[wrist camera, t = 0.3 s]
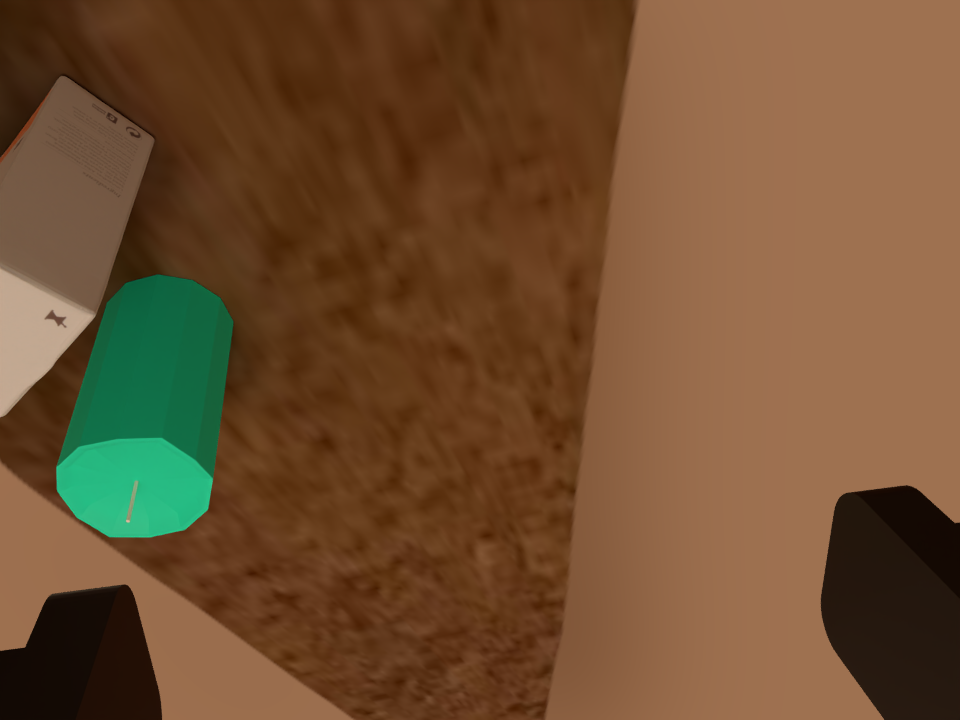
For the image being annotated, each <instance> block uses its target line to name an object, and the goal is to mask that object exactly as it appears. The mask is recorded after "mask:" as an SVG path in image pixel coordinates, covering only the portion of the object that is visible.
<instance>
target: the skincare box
mask: <svg viewBox="0 0 960 720" xmlns="http://www.w3.org/2000/svg"><path fill="white" fill-rule="evenodd" d="M154 141H155V140H154V138H153V137H152V136H151V135H149V134H148V133H147V132H145V131H144V130H142V129H141V128H139V127H138V126H137V125H135V124H134V123H132V122H131V121H129V120H128V119H127V118H125V117H124V116H122V115H120V114H119V113H118V112H116V111H115V110H113V109H112V108H111V107H109V106H108V105H106V104H105V103H103V102H102V101H100V100H99V99H97V98H96V97H95V96H93V95H92V94H90V93H89V92H88V91H86V90H85V89H83V88H82V87H80V86H79V85H78V84H76V83H75V82H74V81H72V80H70V79H69V78H67V77H66V76H61V77H59V78H58V80H57V81H56V83H55V84H54V86H53V87H52V89H51V90H50V92H49V93H48V94H47V96H46V97H45V99H44V100H43V101H42V103H41V104H40V105H39V107H38V108H37V110H36V111H35V112H34V114H33V115H32V117H31V118H30V119H29V121H28V122H27V123H26V125H25V126H24V127H23V129H22V130H21V132H20V133H19V134H18V136H17V137H16V138H15V140H14V141H13V142H12V144H11V145H10V146H9V148H8V149H7V150H6V151H5V153H4V154H3V155H2V156H1V158H0V417H2V416H4V415H6V414H7V413H8V412H9V411H10V410H11V408H12V407H13V406H14V405H15V404H16V403H17V402H18V401H19V400H20V399H21V397H22V396H23V395H24V394H25V393H26V392H27V391H28V390H29V389H30V388H31V387H32V386H33V385H34V384H35V383H36V382H37V381H38V380H39V379H40V378H42V377H43V376H44V375H45V374H46V373H47V372H48V371H49V370H50V369H51V368H52V366H53V365H54V363H55V362H56V361H57V359H58V358H59V357H60V356H61V355H62V354H63V352H64V351H65V350H66V349H67V348H68V347H69V346H70V345H71V344H72V342H73V341H74V340H75V339H76V338H77V337H78V336H79V335H80V333H81V332H82V331H83V330H84V329H85V328H86V327H87V325H88V324H89V323H90V322H91V321H92V320H93V319H94V317H95V316H96V314H97V311H98V308H99V306H100V303H101V300H102V298H103V295H104V292H105V289H106V286H107V283H108V280H109V276H110V273H111V270H112V267H113V264H114V261H115V258H116V255H117V252H118V249H119V246H120V243H121V240H122V237H123V234H124V231H125V228H126V225H127V222H128V219H129V216H130V212H131V209H132V207H133V204H134V201H135V198H136V195H137V192H138V189H139V186H140V183H141V180H142V177H143V174H144V172H145V168H146V165H147V162H148V159H149V156H150V153H151V150H152V147H153V144H154Z"/></svg>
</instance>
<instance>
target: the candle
mask: <svg viewBox="0 0 960 720" xmlns="http://www.w3.org/2000/svg"><path fill="white" fill-rule="evenodd" d="M232 330H233V320H232V318H231V316H230V314H229V313H228V311H227V309H226V307H225V305H224V303H223V302H222V300H221V298H220V297H218V296H217V295H215V294H214V293H212V292H211V291H209V290H207V289H206V288H204V287H203V286H201V285H200V284H198V283H196V282H195V281H193V280H189V279H183V278H176V277H170V276H164V275H154V276H150V277H146V278H143V279H139V280H135V281H131V282H127V283H125V285H124V286H123V287H122V288H121V289H120V290H119V291H118V292H117V293H116V294H115V295H114V296H113V297H112V298H111V299H110V300H109V301H108V302H107V305H106V308H105V311H104V314H103V318H102V321H101V324H100V327H99V331H98V334H97V337H96V340H95V344H94V347H93V350H92V353H91V357H90V360H89V363H88V366H87V370H86V373H85V376H84V379H83V383H82V386H81V389H80V393H79V396H78V399H77V402H76V406H75V409H74V412H73V415H72V419H71V422H70V425H69V428H68V432H67V435H66V438H65V441H64V445H63V448H62V451H61V454H60V458H59V461H58V464H57V491H58V493H59V494H60V496H61V497H62V498H63V500H64V501H65V502H66V504H67V505H68V506H69V508H70V509H71V510H72V512H73V513H74V514H75V516H76V517H77V518H79V519H80V520H82V521H84V522H85V523H87V524H89V525H90V526H92V527H94V528H95V529H97V530H99V531H100V532H102V533H104V534H106V535H107V536H109V537H153V536H158V535H163V534H167V533H172V532H177V531H181V530H185V529H186V528H187V527H189V526H190V525H191V524H192V523H193V522H194V521H195V520H197V519H198V518H199V517H200V516H201V515H202V514H203V513H205V512H206V511H207V510H208V506H209V500H210V494H211V487H212V481H213V474H214V467H215V459H216V452H217V444H218V436H219V429H220V421H221V414H222V406H223V398H224V391H225V383H226V376H227V368H228V360H229V353H230V345H231V338H232Z"/></svg>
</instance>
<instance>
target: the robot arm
mask: <svg viewBox="0 0 960 720" xmlns="http://www.w3.org/2000/svg"><path fill="white" fill-rule="evenodd" d="M821 611H822V618H823V623H824V627H825V630H826V633H827V636H828V638H829V641H830V643H831V645H832V647H833V649H834V650H835V652H836V653H837V655H838V656H839V657H840V659H841V660H842V662H843V663H844V664H845V666H846V667H847V669H848V670H849V671H850V673H851V674H852V676H853V677H854V678H855V680H856V681H857V682H858V684H859V685H860V687H861V688H862V689H863V691H864V692H865V693H866V695H867V696H868V697H869V699H870V700H871V702H872V703H873V705H874V706H875V707H876V709H877V710H878V711H879V713H880V714H881V716H882V717H883V718H884V720H960V523H954V522H953V521H952V520H950V518H948V517H947V516H946V515H945V514H944V513H943V512H942V511H941V510H940V509H939V508H937V507H936V506H935V505H934V504H933V503H932V502H931V501H930V500H929V499H928V498H927V497H926V496H924V495H923V494H922V493H921V492H920V491H919V490H917V489H916V488H914V487H911V486H907V485H906V486H897V487H890V488H882V489H874V490H866V491H858V492H851V493H846V494H843V495H842V496H841V497H840V498H839V499H838V501H837V503H836V506H835V510H834V516H833V522H832V529H831V535H830V542H829V549H828V555H827V561H826V568H825V574H824V581H823V588H822V594H821ZM0 720H162V710H161V701H160V694H159V689H158V685H157V681H156V678H155V674H154V670H153V666H152V662H151V658H150V654H149V651H148V647H147V643H146V639H145V635H144V631H143V627H142V624H141V620H140V616H139V612H138V608H137V604H136V601H135V598H134V595H133V593H132V591H131V589H130V588H129V586H128V585H117V586H110V587H101V588H94V589H86V590H78V591H70V592H63V593H55V594H52V595H50V596H49V597H48V598H47V600H46V601H45V603H44V605H43V607H42V610H41V612H40V614H39V617H38V619H37V621H36V624H35V626H34V628H33V631H32V633H31V635H30V638H29V640H28V642H27V644H26V647H25V648H18V649H11V650H4V651H0Z"/></svg>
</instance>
